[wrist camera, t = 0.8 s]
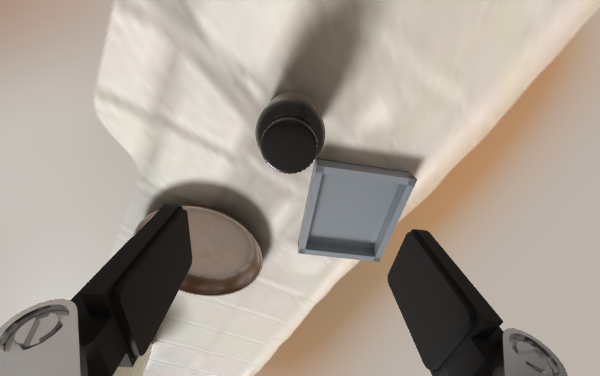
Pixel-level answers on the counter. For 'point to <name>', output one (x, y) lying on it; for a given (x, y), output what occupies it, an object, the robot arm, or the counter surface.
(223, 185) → the counter surface
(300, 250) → the tray
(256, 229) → the counter surface
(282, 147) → the supplement bottle
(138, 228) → the plant saucer
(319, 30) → the counter surface
